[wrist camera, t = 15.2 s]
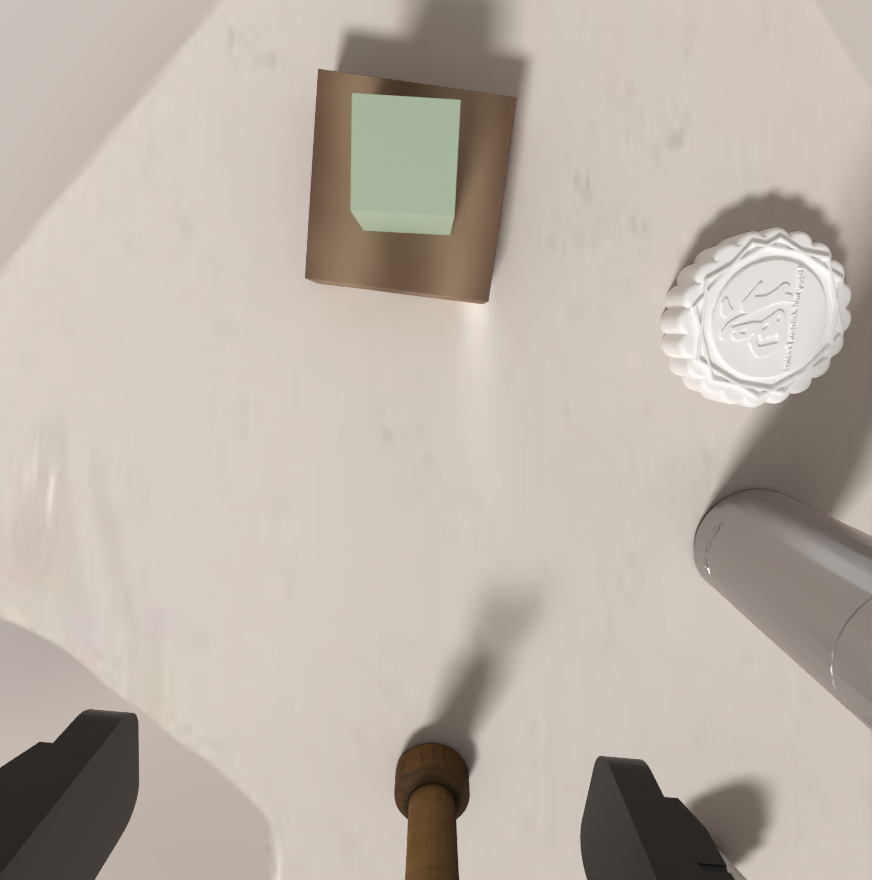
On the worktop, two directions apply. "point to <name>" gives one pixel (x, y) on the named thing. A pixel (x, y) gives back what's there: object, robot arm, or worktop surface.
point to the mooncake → (756, 317)
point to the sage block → (404, 163)
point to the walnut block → (408, 254)
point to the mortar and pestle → (431, 809)
